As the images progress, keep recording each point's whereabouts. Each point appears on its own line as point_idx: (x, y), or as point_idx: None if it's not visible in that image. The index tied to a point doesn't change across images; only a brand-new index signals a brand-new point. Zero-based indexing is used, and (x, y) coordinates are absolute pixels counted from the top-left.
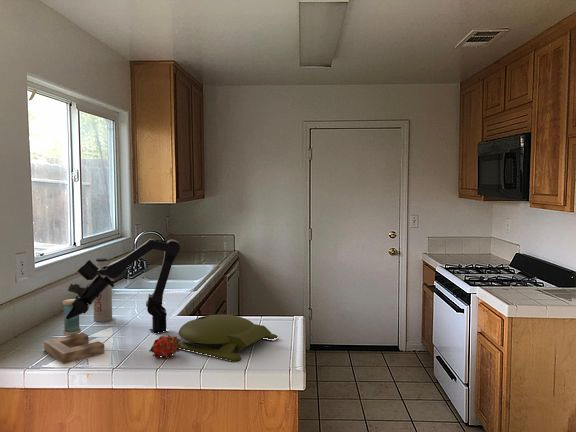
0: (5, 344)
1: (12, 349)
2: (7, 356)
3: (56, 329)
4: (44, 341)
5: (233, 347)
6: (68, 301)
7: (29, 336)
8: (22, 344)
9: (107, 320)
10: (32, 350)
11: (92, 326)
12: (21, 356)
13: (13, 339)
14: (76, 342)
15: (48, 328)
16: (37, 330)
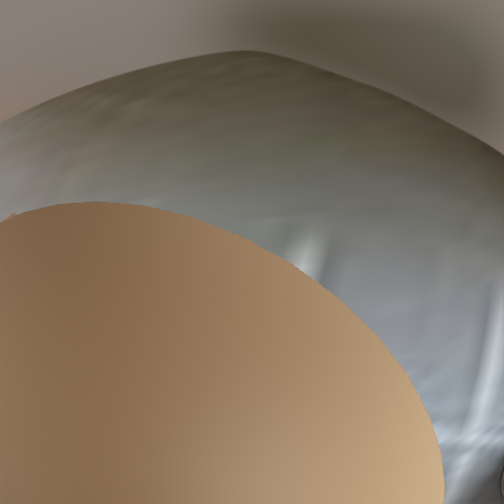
0: (223, 54)
1: (130, 91)
2: (52, 105)
3: (444, 245)
4: (8, 217)
5: None
6: (5, 456)
7: (332, 119)
8: (191, 108)
9: (502, 494)
10: (69, 175)
11: (447, 456)
12: (22, 153)
13: (295, 67)
14: None
15: (461, 199)
16: (431, 149)
